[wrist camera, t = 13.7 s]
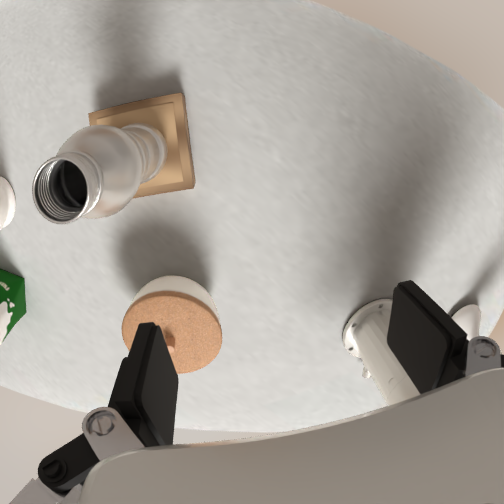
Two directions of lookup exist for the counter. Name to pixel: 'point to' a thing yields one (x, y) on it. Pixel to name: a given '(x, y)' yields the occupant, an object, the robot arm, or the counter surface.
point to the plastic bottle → (98, 171)
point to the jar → (6, 203)
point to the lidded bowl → (178, 320)
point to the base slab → (173, 130)
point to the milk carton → (11, 301)
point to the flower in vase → (469, 320)
